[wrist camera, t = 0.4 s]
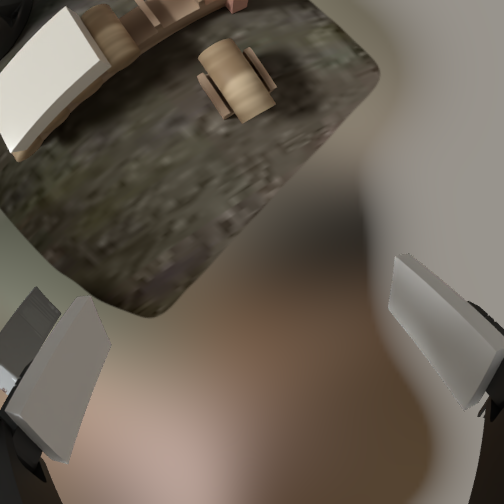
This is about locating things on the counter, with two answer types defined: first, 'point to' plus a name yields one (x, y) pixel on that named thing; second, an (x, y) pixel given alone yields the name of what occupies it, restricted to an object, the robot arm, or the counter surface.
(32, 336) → the skincare box
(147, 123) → the counter surface
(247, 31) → the counter surface
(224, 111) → the pedestal
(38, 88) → the slab
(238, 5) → the block
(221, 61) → the roller
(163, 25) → the roller bed
